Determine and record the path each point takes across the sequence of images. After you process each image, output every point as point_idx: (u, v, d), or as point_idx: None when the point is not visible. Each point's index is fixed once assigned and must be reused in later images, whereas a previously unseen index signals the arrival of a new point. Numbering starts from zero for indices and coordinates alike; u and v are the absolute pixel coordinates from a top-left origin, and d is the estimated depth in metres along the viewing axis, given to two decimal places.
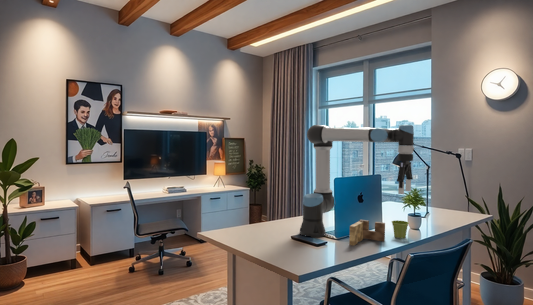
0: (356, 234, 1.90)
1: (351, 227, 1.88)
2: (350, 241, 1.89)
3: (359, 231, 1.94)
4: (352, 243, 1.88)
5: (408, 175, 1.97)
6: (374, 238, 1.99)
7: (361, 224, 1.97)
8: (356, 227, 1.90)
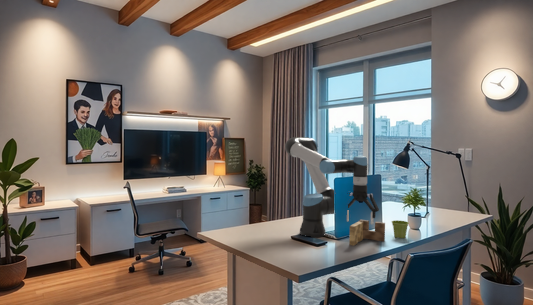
0: (356, 234, 1.90)
1: (351, 227, 1.88)
2: (350, 241, 1.89)
3: (359, 231, 1.94)
4: (352, 243, 1.88)
5: None
6: (374, 238, 1.99)
7: (361, 224, 1.97)
8: (356, 227, 1.90)
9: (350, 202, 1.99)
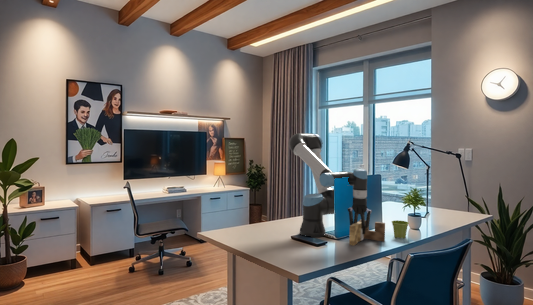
0: (356, 234, 1.90)
1: (351, 227, 1.88)
2: (350, 241, 1.89)
3: (359, 231, 1.94)
4: (352, 243, 1.88)
5: None
6: (374, 238, 1.99)
7: (361, 224, 1.97)
8: (356, 227, 1.90)
9: (354, 218, 1.98)
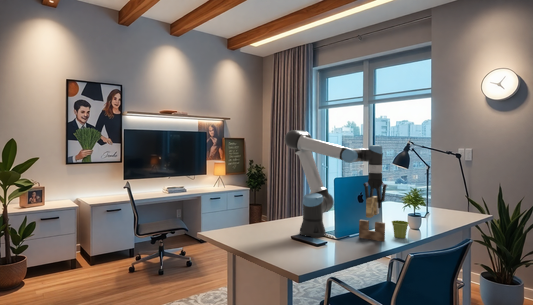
0: (372, 207, 1.96)
1: (368, 200, 1.94)
2: (367, 213, 1.95)
3: (375, 204, 2.00)
4: (369, 215, 1.94)
5: None
6: (374, 238, 1.99)
7: (377, 198, 2.02)
8: (372, 200, 1.96)
9: (370, 192, 2.04)
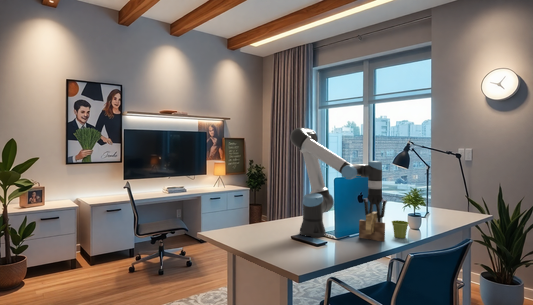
0: (372, 223, 1.97)
1: (367, 216, 1.94)
2: (367, 230, 1.95)
3: (375, 220, 2.00)
4: (368, 232, 1.94)
5: None
6: (374, 238, 1.99)
7: (376, 214, 2.03)
8: (372, 216, 1.96)
9: (370, 208, 2.04)
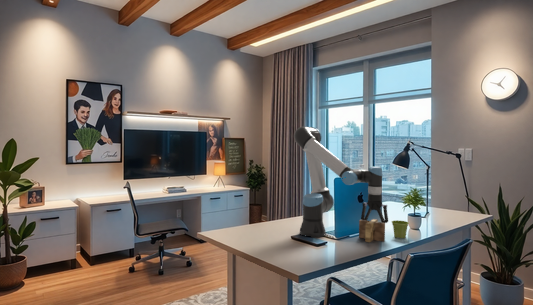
0: (372, 231, 1.97)
1: (367, 224, 1.95)
2: (366, 238, 1.95)
3: (374, 228, 2.01)
4: (368, 240, 1.95)
5: None
6: (374, 238, 1.99)
7: (376, 221, 2.03)
8: (372, 224, 1.97)
9: (367, 212, 2.05)
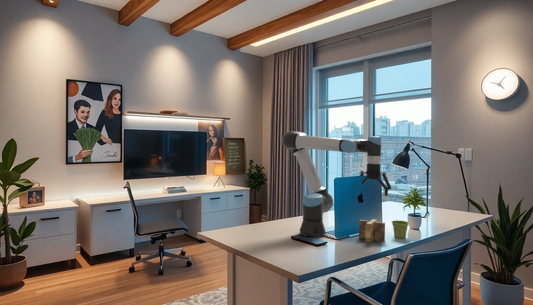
0: (372, 231, 1.97)
1: (367, 224, 1.95)
2: (366, 238, 1.95)
3: (374, 228, 2.01)
4: (368, 240, 1.95)
5: None
6: (374, 238, 1.99)
7: None
8: (372, 224, 1.97)
9: (363, 180, 2.06)
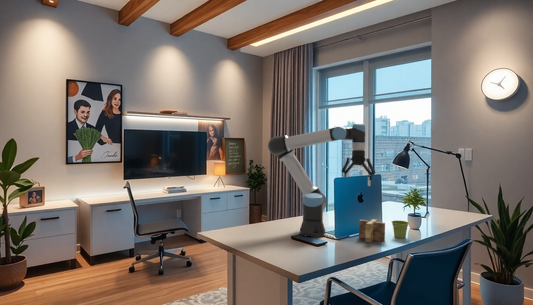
0: (372, 231, 1.97)
1: (367, 224, 1.95)
2: (366, 238, 1.95)
3: (374, 228, 2.01)
4: (368, 240, 1.95)
5: None
6: (374, 238, 1.99)
7: None
8: (372, 224, 1.97)
9: (349, 166, 2.16)
